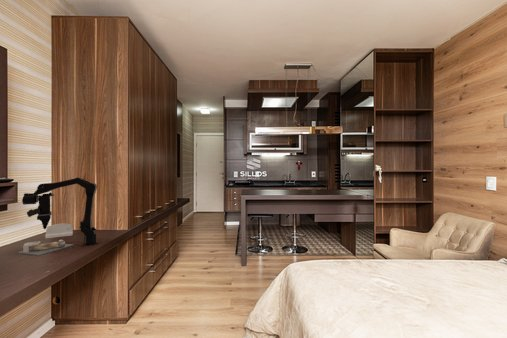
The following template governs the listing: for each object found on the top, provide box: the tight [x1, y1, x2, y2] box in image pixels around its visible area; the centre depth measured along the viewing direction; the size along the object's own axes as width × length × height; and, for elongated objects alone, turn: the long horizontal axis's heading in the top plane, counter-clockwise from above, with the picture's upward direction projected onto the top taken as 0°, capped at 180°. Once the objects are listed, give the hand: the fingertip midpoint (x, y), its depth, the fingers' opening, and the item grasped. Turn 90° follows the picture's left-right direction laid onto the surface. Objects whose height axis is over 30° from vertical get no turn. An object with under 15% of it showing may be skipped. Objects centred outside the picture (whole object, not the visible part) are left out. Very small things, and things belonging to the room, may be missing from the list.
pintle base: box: [16, 239, 75, 257], centre depth 164 cm, size 18×21×5 cm
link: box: [33, 240, 66, 251], centre depth 164 cm, size 15×4×3 cm, turn 125°
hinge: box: [44, 223, 74, 239], centre depth 198 cm, size 17×5×10 cm, turn 122°
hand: (44, 228), depth 167 cm, fingers closed
